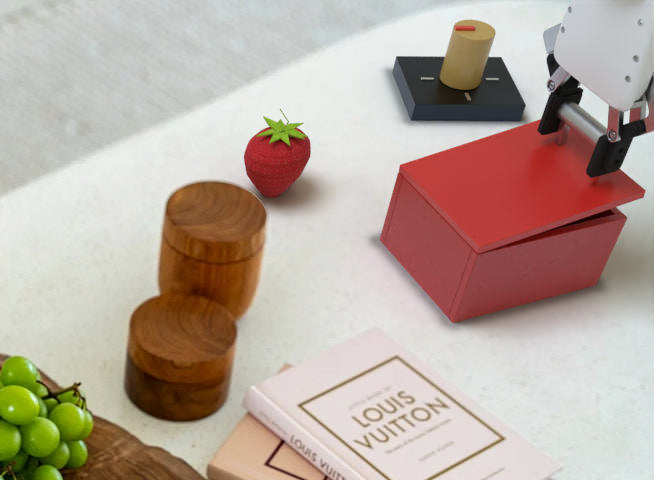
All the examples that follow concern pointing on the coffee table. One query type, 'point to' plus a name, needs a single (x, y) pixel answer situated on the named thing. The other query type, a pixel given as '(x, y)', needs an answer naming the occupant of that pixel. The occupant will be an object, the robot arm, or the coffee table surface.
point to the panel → (456, 92)
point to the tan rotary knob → (467, 54)
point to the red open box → (494, 257)
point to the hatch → (520, 181)
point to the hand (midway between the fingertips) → (577, 149)
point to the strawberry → (276, 156)
